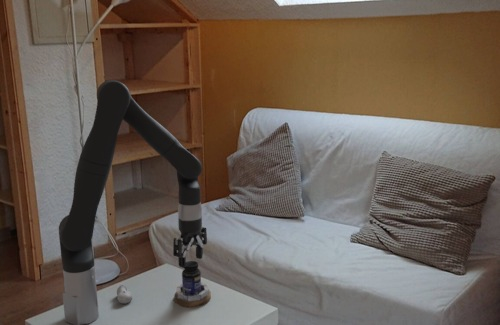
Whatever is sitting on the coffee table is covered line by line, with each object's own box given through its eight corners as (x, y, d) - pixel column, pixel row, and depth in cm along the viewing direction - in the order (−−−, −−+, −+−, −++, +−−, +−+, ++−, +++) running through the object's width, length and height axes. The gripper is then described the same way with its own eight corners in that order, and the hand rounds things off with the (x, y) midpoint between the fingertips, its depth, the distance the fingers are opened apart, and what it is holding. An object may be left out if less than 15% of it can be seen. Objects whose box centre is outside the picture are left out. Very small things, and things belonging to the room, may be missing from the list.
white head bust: (131, 307, 173) (116, 306, 171) (129, 296, 180) (114, 294, 179) (135, 296, 172) (119, 293, 171) (132, 284, 180) (117, 282, 178)
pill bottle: (198, 299, 172) (196, 268, 170) (180, 297, 174) (178, 266, 171) (203, 290, 178) (202, 260, 176) (186, 289, 179) (184, 259, 177)
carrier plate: (195, 310, 168) (195, 300, 167) (167, 301, 175) (166, 291, 174) (217, 295, 178) (217, 286, 177) (190, 286, 184) (189, 277, 184)
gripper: (195, 207, 177) (195, 252, 181) (166, 219, 166) (167, 267, 169) (212, 212, 173) (213, 257, 177) (184, 224, 162) (185, 273, 165)
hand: (190, 262), depth 173 cm, fingers open, 8 cm apart
